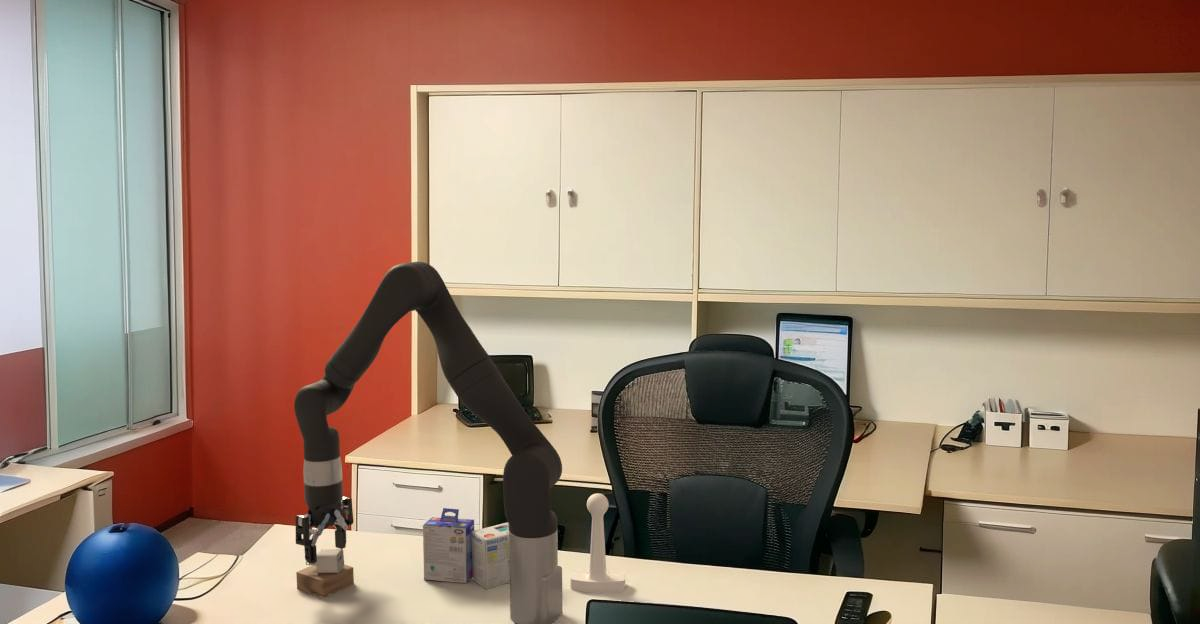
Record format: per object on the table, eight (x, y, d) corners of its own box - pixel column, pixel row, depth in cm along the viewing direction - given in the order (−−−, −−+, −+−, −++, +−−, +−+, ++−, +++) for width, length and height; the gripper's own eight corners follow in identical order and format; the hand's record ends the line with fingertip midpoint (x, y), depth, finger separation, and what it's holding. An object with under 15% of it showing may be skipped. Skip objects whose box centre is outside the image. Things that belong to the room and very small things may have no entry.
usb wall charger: (337, 574, 187) (335, 555, 186) (304, 574, 187) (302, 556, 187) (344, 566, 191) (342, 547, 190) (312, 566, 191) (310, 548, 191)
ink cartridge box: (476, 573, 196) (475, 508, 194) (467, 584, 190) (466, 517, 189) (433, 569, 198) (431, 505, 196) (423, 580, 192) (421, 514, 191)
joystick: (569, 591, 187) (569, 496, 184) (573, 576, 194) (573, 485, 192) (624, 593, 186) (624, 498, 183) (626, 577, 193) (626, 486, 191)
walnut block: (353, 585, 191) (353, 567, 191) (323, 599, 184) (322, 580, 184) (327, 576, 195) (327, 559, 195) (297, 590, 189) (296, 572, 188)
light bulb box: (514, 567, 199) (513, 519, 198) (530, 577, 194) (530, 528, 192) (470, 579, 193) (469, 530, 192) (486, 590, 188) (485, 539, 186)
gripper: (312, 491, 178) (315, 571, 180) (361, 471, 191) (363, 546, 193) (283, 486, 182) (287, 564, 184) (333, 466, 194) (336, 540, 196)
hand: (326, 554), depth 188 cm, fingers open, 8 cm apart
